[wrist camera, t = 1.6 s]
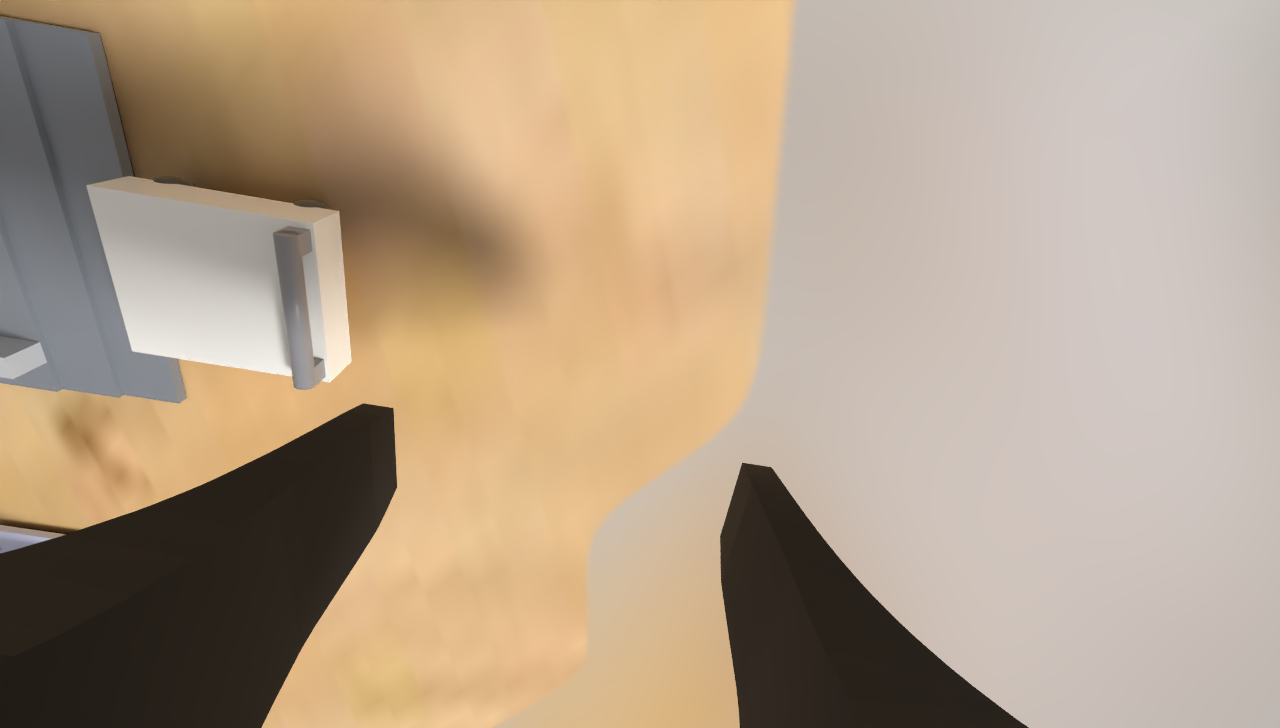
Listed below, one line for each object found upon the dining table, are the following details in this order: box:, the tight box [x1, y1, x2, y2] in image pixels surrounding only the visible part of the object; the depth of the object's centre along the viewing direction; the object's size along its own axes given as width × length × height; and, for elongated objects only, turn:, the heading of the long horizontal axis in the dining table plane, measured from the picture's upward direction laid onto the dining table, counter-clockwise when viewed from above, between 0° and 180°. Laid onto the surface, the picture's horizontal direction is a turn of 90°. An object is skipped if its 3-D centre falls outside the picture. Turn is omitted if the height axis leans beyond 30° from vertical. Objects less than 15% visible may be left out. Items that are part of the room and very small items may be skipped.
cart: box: [86, 176, 351, 390], centre depth 17 cm, size 5×6×3 cm
